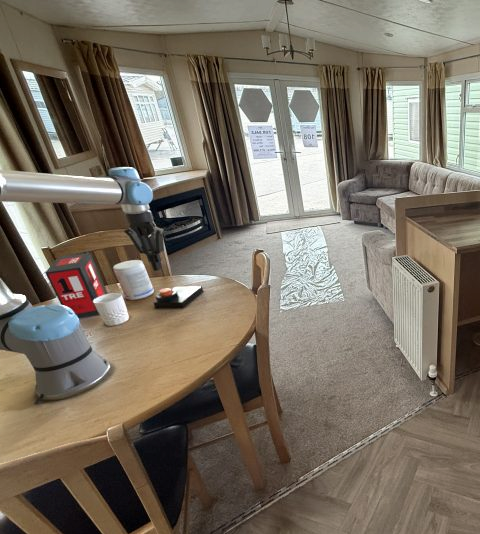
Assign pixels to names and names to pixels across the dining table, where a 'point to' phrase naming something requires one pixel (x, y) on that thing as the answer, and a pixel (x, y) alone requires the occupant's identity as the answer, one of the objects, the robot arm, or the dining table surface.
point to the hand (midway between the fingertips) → (158, 269)
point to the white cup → (111, 308)
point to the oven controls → (178, 297)
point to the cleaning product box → (77, 283)
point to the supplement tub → (133, 279)
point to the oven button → (165, 292)
